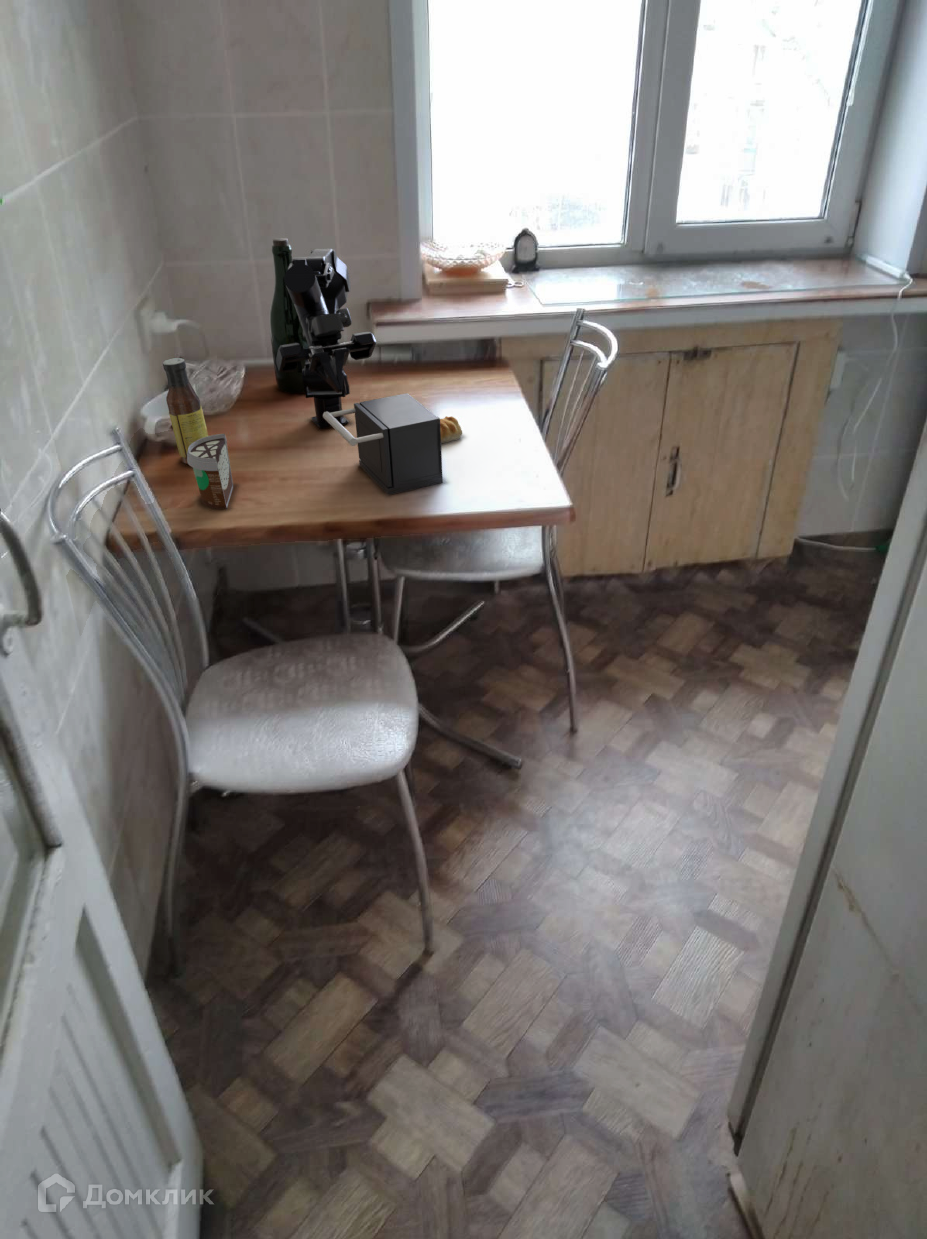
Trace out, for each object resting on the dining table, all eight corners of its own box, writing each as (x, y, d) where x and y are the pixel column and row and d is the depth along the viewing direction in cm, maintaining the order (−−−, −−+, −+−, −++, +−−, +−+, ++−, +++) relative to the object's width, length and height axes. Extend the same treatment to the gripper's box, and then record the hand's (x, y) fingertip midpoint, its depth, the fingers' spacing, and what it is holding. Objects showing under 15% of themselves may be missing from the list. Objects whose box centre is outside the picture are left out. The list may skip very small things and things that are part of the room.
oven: (388, 495, 164) (383, 429, 157) (359, 465, 176) (353, 403, 169) (442, 482, 168) (440, 418, 161) (411, 454, 179) (407, 393, 172)
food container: (201, 484, 170) (191, 434, 165) (234, 482, 170) (225, 432, 165) (190, 514, 160) (179, 461, 154) (225, 512, 160) (215, 459, 155)
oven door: (355, 494, 161) (349, 436, 155) (328, 464, 172) (321, 409, 166) (392, 486, 164) (387, 428, 158) (363, 457, 175) (358, 402, 169)
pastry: (428, 449, 181) (427, 431, 179) (408, 440, 185) (407, 422, 183) (465, 437, 186) (464, 419, 184) (445, 428, 190) (444, 411, 188)
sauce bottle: (219, 455, 181) (200, 357, 170) (201, 468, 176) (181, 367, 165) (191, 452, 183) (170, 354, 172) (173, 464, 178) (151, 364, 167)
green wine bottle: (270, 393, 211) (247, 242, 193) (287, 378, 219) (267, 233, 201) (312, 395, 209) (293, 243, 191) (328, 380, 217) (311, 233, 199)
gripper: (271, 301, 163) (298, 378, 160) (368, 287, 169) (395, 362, 167) (265, 334, 173) (290, 408, 171) (357, 320, 180) (382, 391, 177)
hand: (340, 391), depth 171 cm, fingers closed
